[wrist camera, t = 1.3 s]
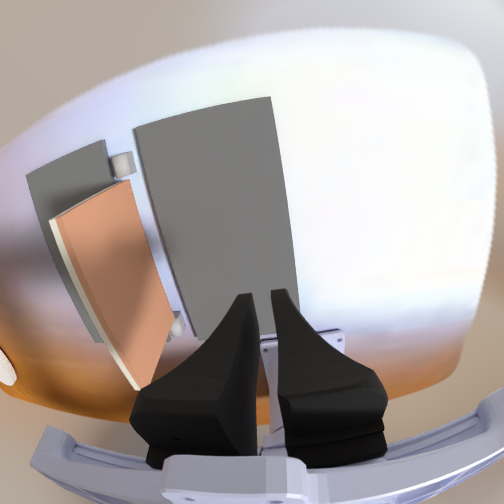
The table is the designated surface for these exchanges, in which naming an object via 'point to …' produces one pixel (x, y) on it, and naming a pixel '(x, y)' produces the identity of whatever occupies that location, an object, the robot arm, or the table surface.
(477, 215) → the table surface
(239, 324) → the robot arm
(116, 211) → the flap
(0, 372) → the plastic lid
